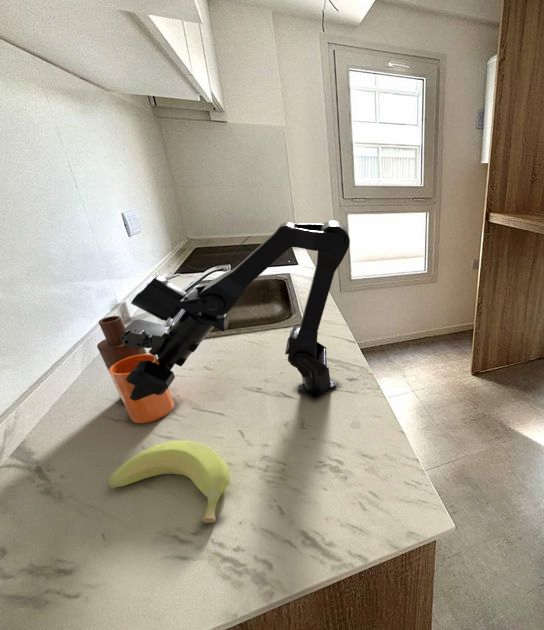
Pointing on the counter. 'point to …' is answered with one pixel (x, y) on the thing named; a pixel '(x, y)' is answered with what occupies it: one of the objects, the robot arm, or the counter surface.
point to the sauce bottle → (115, 342)
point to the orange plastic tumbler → (144, 407)
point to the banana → (179, 469)
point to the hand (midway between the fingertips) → (144, 384)
